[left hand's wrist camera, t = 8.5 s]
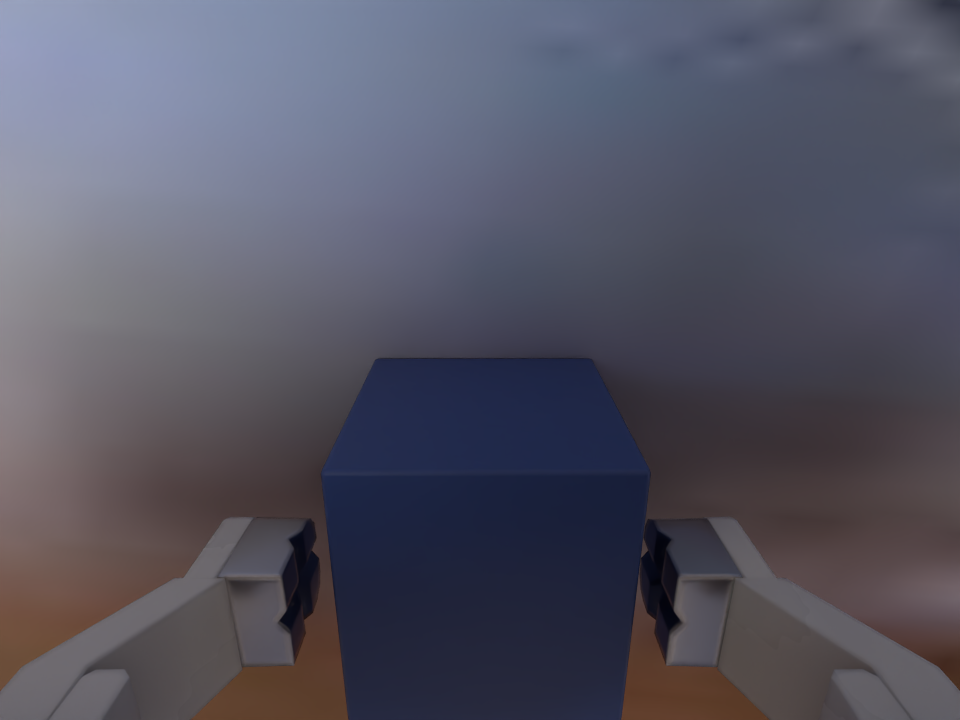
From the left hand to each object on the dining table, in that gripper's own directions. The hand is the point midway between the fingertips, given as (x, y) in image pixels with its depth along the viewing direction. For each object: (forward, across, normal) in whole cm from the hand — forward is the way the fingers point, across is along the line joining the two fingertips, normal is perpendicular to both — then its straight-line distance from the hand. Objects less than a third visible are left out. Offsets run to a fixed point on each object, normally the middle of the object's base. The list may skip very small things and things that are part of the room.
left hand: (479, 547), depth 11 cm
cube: (+3, 0, 0) cm, 3 cm away
